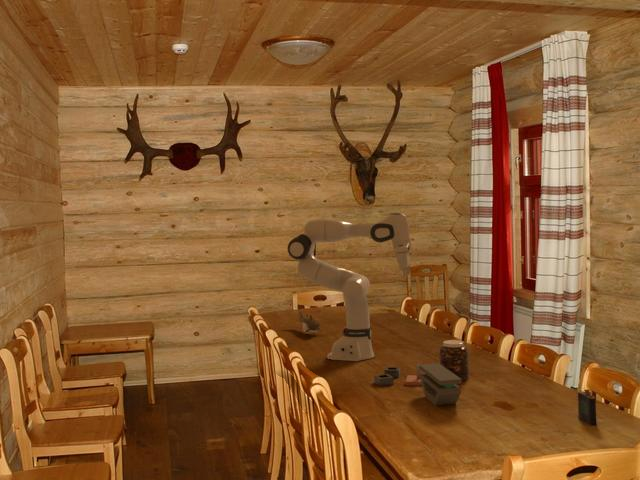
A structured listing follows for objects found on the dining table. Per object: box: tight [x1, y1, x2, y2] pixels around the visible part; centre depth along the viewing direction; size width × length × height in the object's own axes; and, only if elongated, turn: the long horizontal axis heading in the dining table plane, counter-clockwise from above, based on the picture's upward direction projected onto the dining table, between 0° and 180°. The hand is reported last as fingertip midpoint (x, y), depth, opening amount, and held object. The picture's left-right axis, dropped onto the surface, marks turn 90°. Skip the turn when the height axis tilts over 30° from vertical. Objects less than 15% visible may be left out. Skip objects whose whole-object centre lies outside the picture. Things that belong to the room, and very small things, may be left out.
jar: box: [439, 339, 470, 382], centre depth 295 cm, size 12×12×15 cm
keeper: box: [404, 364, 423, 387], centre depth 291 cm, size 10×10×7 cm
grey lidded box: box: [418, 362, 463, 407], centre depth 264 cm, size 25×8×11 cm, turn 9°
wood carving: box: [297, 309, 322, 333], centre depth 406 cm, size 9×35×11 cm, turn 18°
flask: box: [577, 388, 598, 427], centre depth 234 cm, size 9×3×11 cm, turn 8°
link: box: [384, 366, 401, 378], centre depth 303 cm, size 6×6×3 cm
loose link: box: [373, 373, 394, 387], centre depth 291 cm, size 6×6×3 cm
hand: (406, 276), depth 332 cm, fingers open, 8 cm apart
